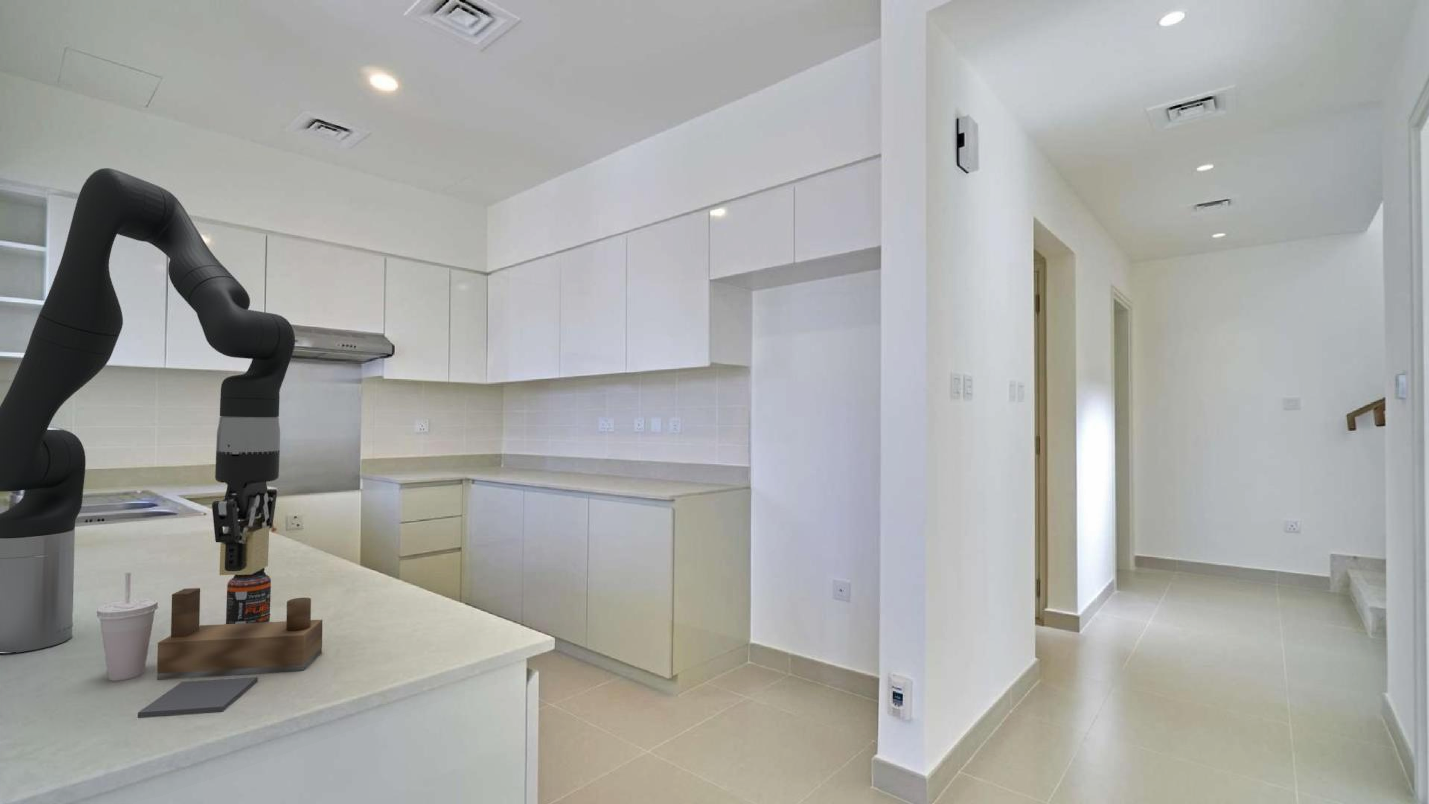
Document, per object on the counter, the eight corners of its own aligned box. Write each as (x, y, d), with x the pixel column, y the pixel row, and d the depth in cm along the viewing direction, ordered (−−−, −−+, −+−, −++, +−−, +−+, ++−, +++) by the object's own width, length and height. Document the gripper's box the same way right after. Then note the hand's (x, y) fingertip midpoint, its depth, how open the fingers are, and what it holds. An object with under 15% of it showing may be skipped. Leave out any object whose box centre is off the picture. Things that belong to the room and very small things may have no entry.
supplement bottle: (246, 640, 105) (248, 569, 105) (215, 637, 106) (217, 567, 106) (278, 628, 110) (280, 561, 111) (249, 625, 112) (250, 559, 112)
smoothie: (151, 662, 95) (153, 565, 95) (161, 674, 91) (164, 573, 91) (90, 675, 90) (93, 574, 90) (99, 688, 86) (101, 582, 86)
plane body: (156, 679, 89) (158, 598, 89) (186, 660, 96) (188, 585, 96) (303, 670, 93) (304, 592, 93) (321, 652, 100) (323, 580, 100)
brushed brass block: (219, 575, 92) (221, 528, 92) (237, 566, 97) (239, 521, 97) (251, 574, 93) (253, 527, 93) (267, 566, 98) (269, 521, 98)
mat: (137, 717, 79) (137, 712, 79) (181, 686, 87) (181, 681, 87) (222, 711, 80) (222, 706, 80) (257, 681, 89) (257, 677, 89)
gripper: (244, 444, 101) (240, 555, 101) (190, 451, 87) (185, 579, 87) (298, 445, 103) (294, 554, 103) (253, 451, 89) (249, 578, 88)
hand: (244, 565), depth 95 cm, fingers closed on brushed brass block, 5 cm apart
